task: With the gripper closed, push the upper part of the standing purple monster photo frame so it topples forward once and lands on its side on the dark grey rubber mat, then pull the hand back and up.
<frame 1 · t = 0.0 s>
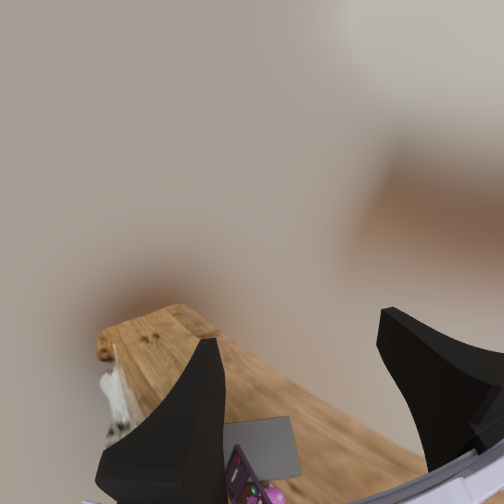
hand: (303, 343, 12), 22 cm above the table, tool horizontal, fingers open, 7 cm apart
mat: (246, 451, 27), on the table
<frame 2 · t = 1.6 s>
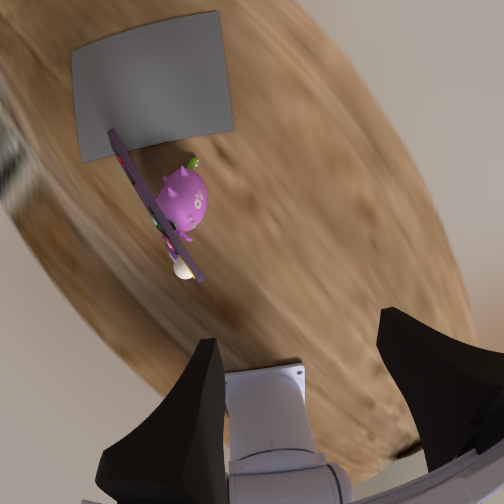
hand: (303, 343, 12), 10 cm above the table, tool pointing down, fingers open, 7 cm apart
mat: (144, 83, 16), on the table
purple monster photo frame: (172, 185, 19), on the table, touching mat
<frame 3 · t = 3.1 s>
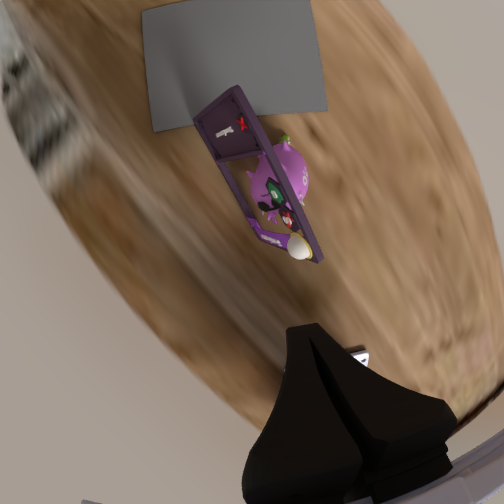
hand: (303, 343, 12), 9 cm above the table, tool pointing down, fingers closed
mat: (232, 52, 15), on the table
purple monster photo frame: (259, 163, 18), on the table, touching mat
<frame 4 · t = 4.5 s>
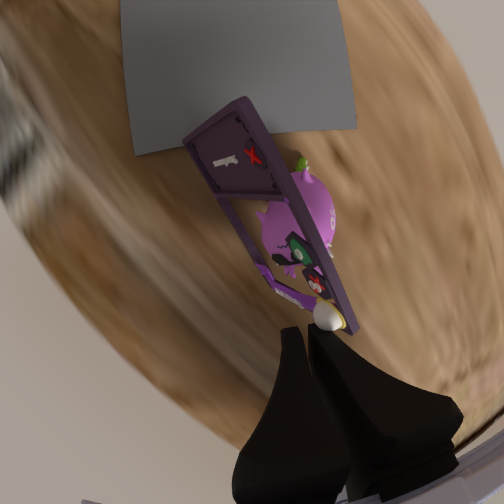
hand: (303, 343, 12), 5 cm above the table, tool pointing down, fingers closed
mat: (235, 50, 12), on the table
purple monster photo frame: (269, 194, 15), on the table, touching gripper, mat
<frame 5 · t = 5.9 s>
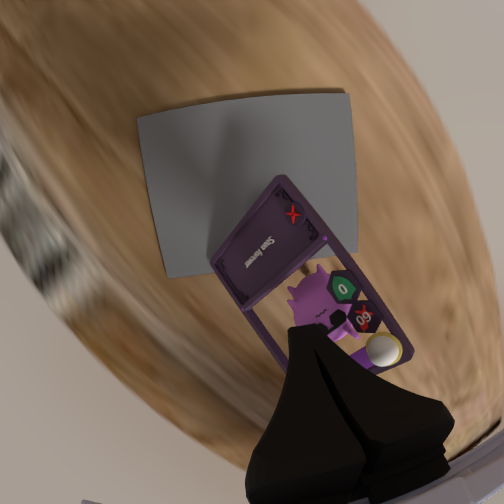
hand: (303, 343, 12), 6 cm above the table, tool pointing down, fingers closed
mat: (254, 184, 15), on the table
purple monster photo frame: (287, 310, 16), point 1 cm above the table, touching gripper, mat
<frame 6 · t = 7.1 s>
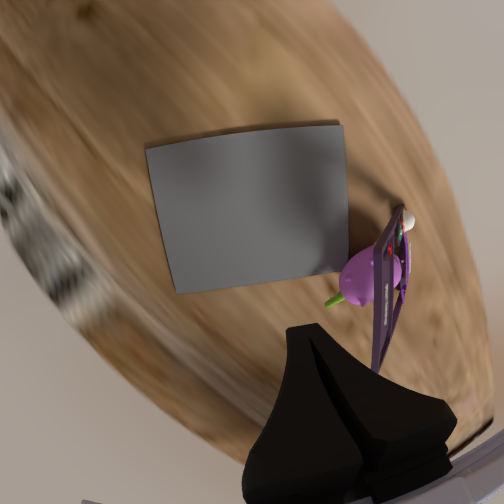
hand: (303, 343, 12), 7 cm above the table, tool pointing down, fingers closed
mat: (254, 210, 17), on the table
purple monster photo frame: (360, 317, 17), point 2 cm above the table, touching mat
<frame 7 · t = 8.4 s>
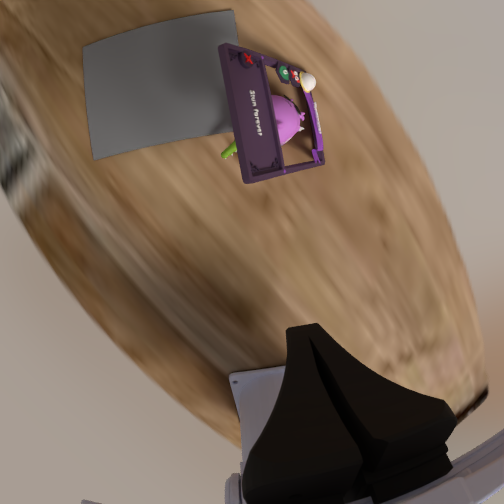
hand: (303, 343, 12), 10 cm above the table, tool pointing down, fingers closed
mat: (159, 80, 16), on the table
purple monster photo frame: (260, 167, 17), point 2 cm above the table, touching mat
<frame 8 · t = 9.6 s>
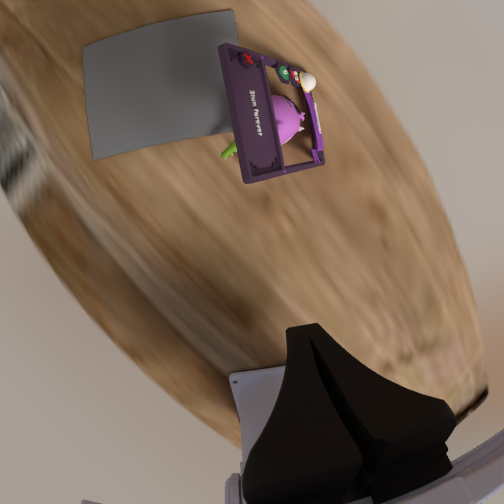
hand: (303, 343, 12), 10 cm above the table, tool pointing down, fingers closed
mat: (159, 80, 16), on the table
purple monster photo frame: (260, 167, 17), point 2 cm above the table, touching mat
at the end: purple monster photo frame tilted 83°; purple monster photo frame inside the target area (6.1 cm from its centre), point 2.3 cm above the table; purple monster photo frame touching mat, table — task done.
